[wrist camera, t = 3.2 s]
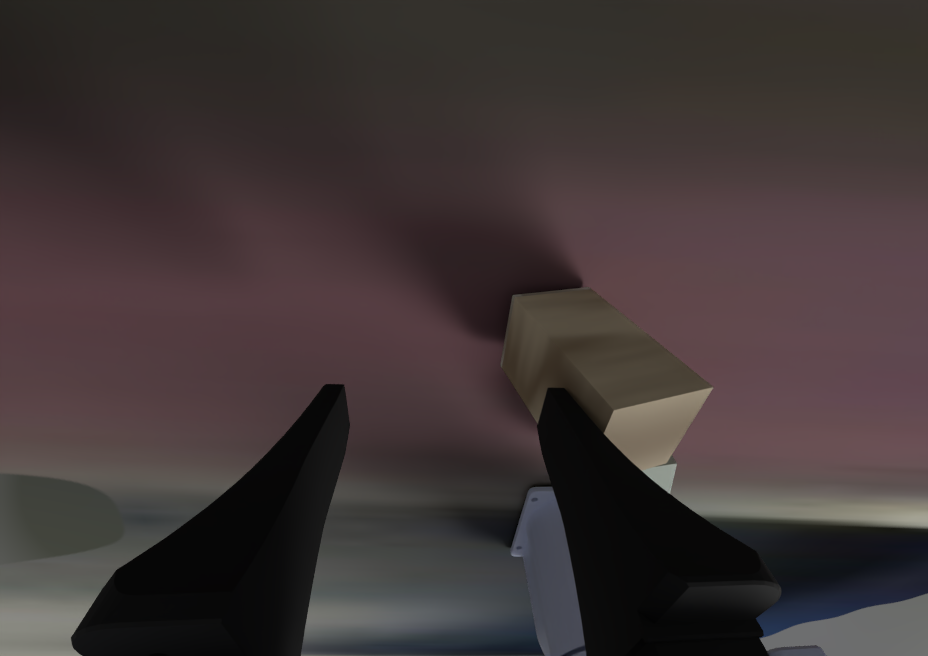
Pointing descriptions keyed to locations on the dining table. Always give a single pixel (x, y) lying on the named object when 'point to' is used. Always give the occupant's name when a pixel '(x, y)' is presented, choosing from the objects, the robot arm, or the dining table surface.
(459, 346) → the dining table surface
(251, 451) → the dining table surface
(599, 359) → the maple block
